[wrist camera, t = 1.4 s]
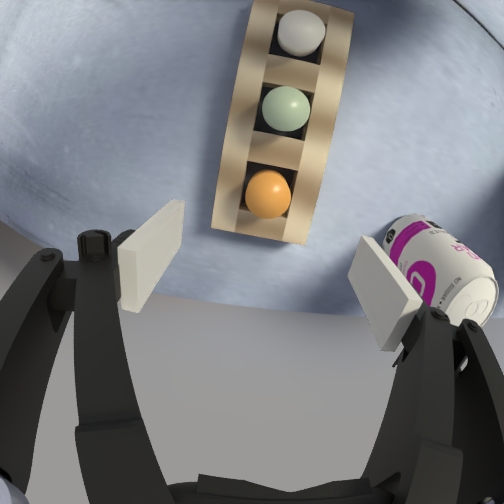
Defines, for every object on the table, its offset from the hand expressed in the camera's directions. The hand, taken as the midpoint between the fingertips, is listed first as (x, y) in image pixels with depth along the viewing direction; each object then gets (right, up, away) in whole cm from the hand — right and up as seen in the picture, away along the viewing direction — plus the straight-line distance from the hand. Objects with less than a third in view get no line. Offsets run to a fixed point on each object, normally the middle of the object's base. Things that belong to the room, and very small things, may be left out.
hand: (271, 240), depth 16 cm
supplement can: (+19, +1, +16) cm, 25 cm away
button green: (+2, +13, +9) cm, 15 cm away
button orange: (0, +6, +12) cm, 13 cm away
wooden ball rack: (+2, +14, +11) cm, 18 cm away
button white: (+3, +20, +5) cm, 21 cm away
